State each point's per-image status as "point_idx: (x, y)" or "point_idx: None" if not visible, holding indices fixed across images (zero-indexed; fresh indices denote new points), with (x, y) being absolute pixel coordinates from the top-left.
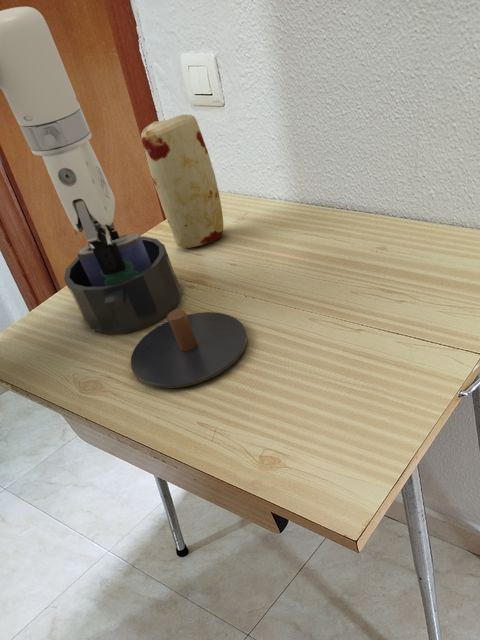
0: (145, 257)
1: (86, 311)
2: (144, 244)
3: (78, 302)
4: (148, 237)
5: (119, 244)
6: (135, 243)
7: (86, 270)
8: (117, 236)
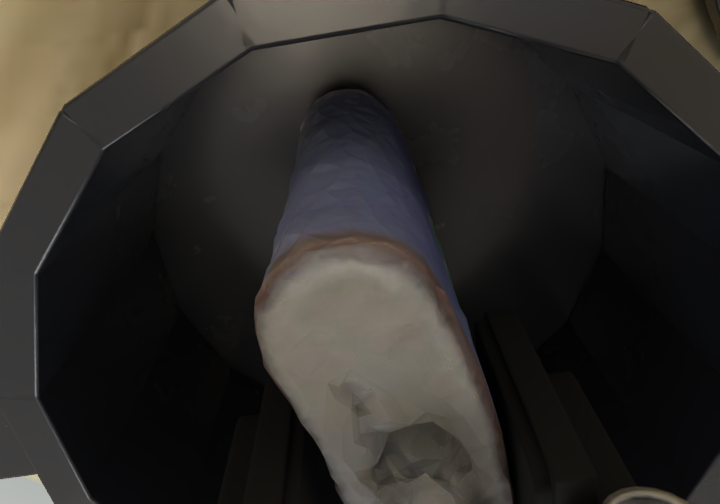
0: (386, 172)
1: None
2: (74, 232)
3: None
4: (16, 202)
5: (480, 429)
6: (433, 273)
7: None
8: (286, 480)
